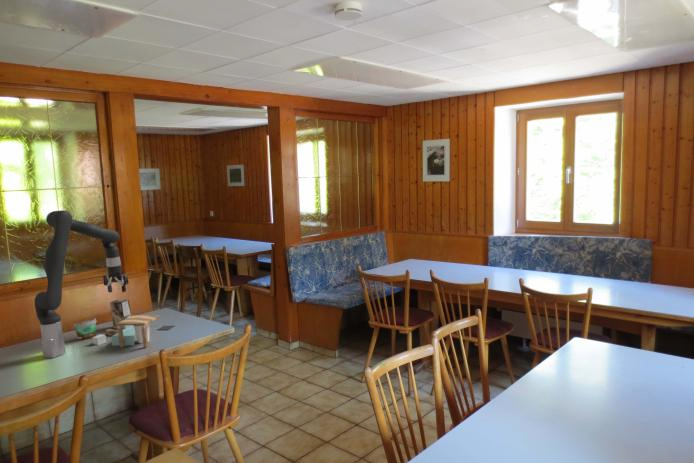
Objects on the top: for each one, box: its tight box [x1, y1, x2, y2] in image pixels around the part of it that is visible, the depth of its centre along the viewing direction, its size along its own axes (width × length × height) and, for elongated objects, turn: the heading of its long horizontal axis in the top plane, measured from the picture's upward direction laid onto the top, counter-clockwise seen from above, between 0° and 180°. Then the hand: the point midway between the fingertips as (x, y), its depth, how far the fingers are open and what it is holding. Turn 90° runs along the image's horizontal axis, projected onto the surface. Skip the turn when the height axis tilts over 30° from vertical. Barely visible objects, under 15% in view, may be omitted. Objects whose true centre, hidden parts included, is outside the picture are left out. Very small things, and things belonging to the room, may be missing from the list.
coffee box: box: [109, 299, 132, 330], centre depth 296 cm, size 9×6×16 cm
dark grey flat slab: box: [156, 325, 175, 331], centre depth 288 cm, size 7×7×1 cm
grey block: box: [91, 334, 107, 346], centre depth 269 cm, size 5×4×4 cm
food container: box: [73, 317, 98, 341], centre depth 279 cm, size 12×6×10 cm, turn 143°
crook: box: [110, 325, 136, 347], centre depth 273 cm, size 22×12×5 cm, turn 173°
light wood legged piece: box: [116, 314, 161, 349], centre depth 264 cm, size 14×16×13 cm
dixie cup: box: [133, 322, 151, 344], centre depth 266 cm, size 8×8×10 cm
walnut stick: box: [104, 328, 118, 337], centre depth 282 cm, size 12×2×3 cm, turn 69°
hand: (117, 292), depth 289 cm, fingers open, 8 cm apart
